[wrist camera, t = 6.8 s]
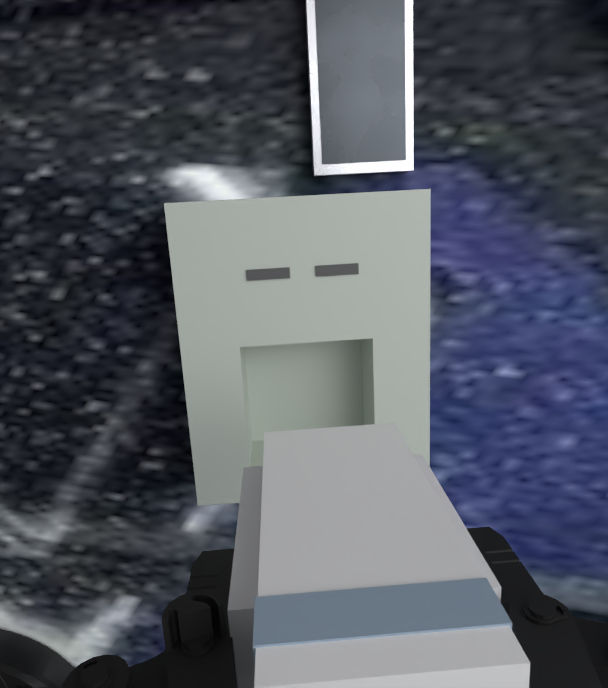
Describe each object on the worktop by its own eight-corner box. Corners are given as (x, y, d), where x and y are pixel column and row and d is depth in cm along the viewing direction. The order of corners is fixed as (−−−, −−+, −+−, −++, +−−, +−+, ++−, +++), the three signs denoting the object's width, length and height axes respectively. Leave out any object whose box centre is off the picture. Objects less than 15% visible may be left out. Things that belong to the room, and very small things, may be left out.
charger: (271, 549, 19) (270, 893, 10) (262, 431, 18) (250, 685, 9) (398, 539, 20) (521, 867, 10) (396, 421, 18) (534, 660, 9)
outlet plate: (178, 203, 28) (163, 203, 24) (408, 191, 29) (431, 188, 25) (206, 469, 32) (197, 506, 28) (410, 454, 32) (430, 488, 28)
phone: (312, 176, 28) (314, 175, 27) (303, -21, 26) (305, -31, 25) (408, 171, 28) (413, 170, 27) (407, -25, 26) (413, -35, 25)
